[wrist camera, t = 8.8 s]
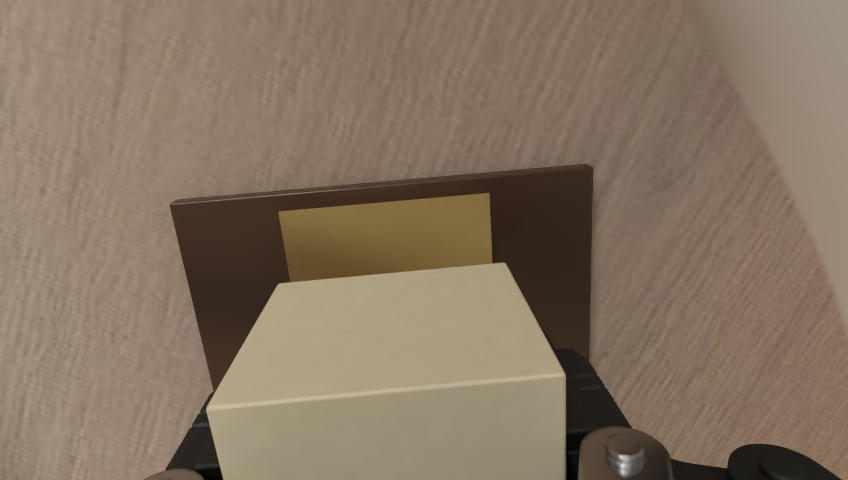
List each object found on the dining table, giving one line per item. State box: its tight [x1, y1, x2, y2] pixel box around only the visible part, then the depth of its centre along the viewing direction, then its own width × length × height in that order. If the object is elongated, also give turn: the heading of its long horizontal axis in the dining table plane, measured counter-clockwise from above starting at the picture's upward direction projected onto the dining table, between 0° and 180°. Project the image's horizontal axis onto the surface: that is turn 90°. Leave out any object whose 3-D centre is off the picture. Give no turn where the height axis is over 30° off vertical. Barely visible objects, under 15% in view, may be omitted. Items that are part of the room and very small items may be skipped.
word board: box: [170, 164, 593, 391], centre depth 18 cm, size 20×12×1 cm, turn 5°
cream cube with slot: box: [206, 263, 566, 480], centre depth 10 cm, size 5×5×5 cm
